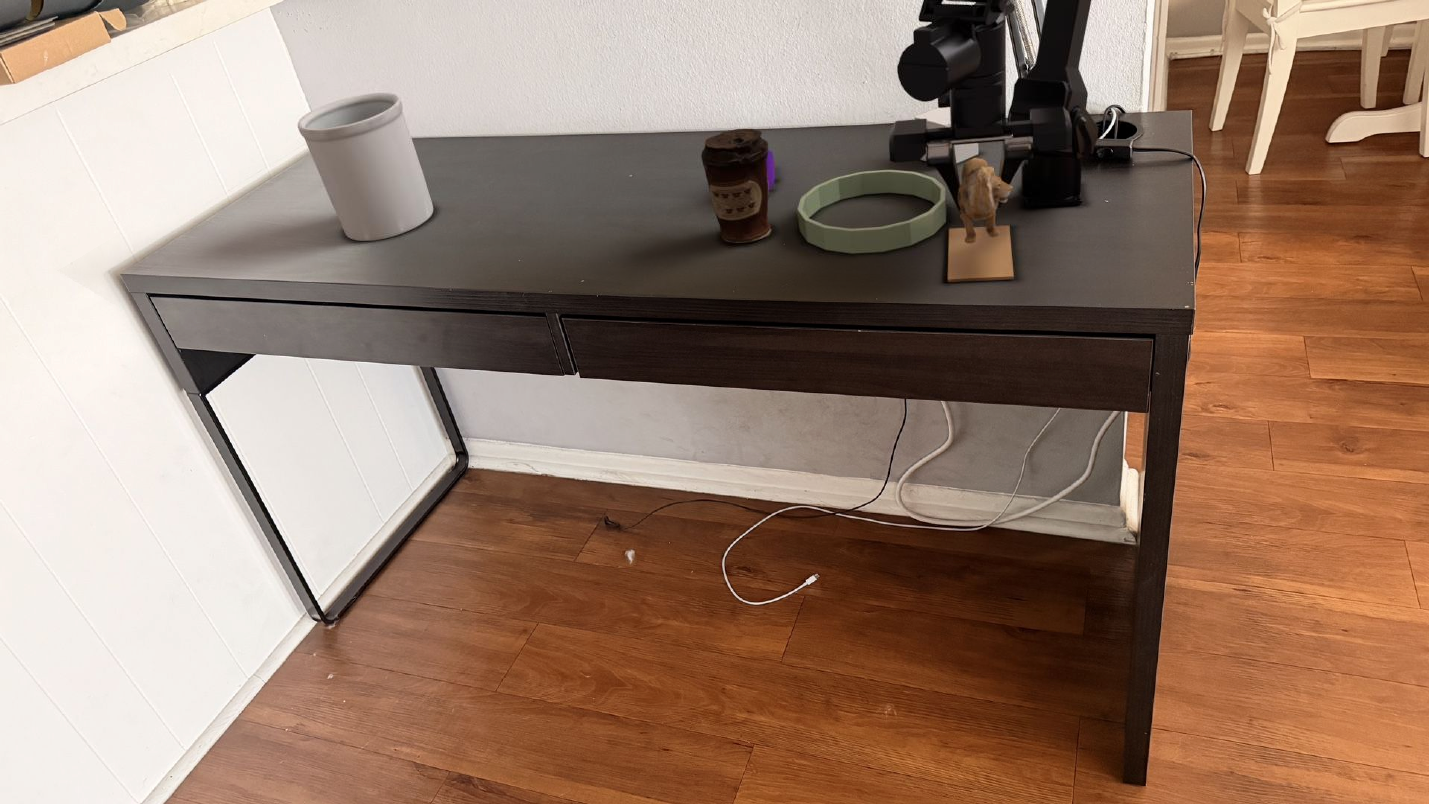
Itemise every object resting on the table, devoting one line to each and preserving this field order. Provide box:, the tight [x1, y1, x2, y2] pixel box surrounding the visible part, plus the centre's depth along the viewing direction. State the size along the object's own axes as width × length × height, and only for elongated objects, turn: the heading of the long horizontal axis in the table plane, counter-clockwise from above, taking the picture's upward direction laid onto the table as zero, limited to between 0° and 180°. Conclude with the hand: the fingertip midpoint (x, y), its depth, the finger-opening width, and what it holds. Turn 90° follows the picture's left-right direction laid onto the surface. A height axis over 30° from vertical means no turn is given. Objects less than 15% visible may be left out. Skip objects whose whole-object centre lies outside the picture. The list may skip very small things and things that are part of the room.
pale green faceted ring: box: [796, 169, 947, 254], centre depth 129 cm, size 18×18×3 cm
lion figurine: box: [958, 157, 1014, 243], centre depth 113 cm, size 15×5×9 cm, turn 179°
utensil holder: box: [297, 92, 434, 242], centre depth 151 cm, size 15×15×18 cm
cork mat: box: [947, 224, 1014, 283], centre depth 118 cm, size 7×13×1 cm, turn 169°
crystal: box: [767, 149, 776, 191], centre depth 145 cm, size 5×5×15 cm
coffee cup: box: [700, 128, 772, 244], centre depth 129 cm, size 9×8×13 cm
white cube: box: [914, 107, 979, 164], centre depth 142 cm, size 6×6×6 cm
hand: (979, 208), depth 115 cm, fingers closed on lion figurine, 4 cm apart
